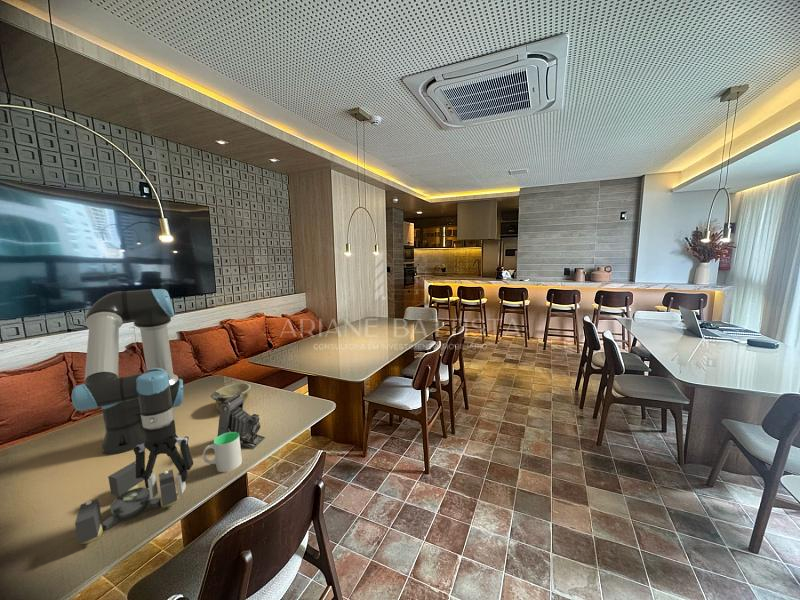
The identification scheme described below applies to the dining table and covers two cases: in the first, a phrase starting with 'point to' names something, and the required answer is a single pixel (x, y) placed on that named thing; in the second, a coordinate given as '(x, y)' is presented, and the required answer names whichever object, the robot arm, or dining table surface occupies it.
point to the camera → (239, 421)
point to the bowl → (230, 392)
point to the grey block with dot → (124, 480)
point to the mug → (226, 452)
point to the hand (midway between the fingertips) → (168, 493)
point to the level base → (130, 505)
